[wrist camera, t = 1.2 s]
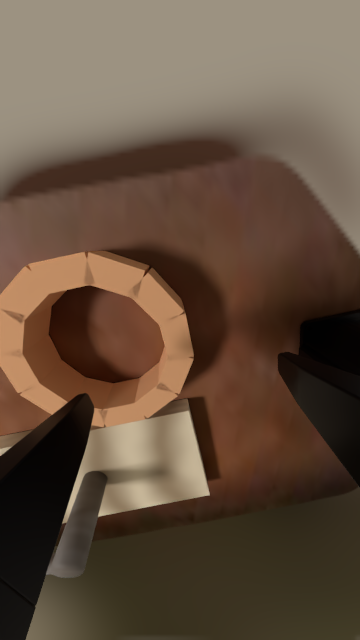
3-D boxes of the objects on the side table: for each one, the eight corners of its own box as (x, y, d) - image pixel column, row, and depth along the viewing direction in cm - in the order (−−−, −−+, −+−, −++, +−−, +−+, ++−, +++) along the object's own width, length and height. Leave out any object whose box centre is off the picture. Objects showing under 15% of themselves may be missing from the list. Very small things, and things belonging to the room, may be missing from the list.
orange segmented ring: (168, 235, 13) (169, 233, 11) (198, 382, 18) (204, 407, 15) (-9, 274, 14) (-55, 282, 11) (66, 409, 18) (47, 438, 15)
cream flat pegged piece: (187, 398, 19) (199, 490, 12) (207, 480, 23) (223, 580, 16) (-2, 436, 19) (-101, 548, 12) (55, 509, 24) (8, 619, 17)
